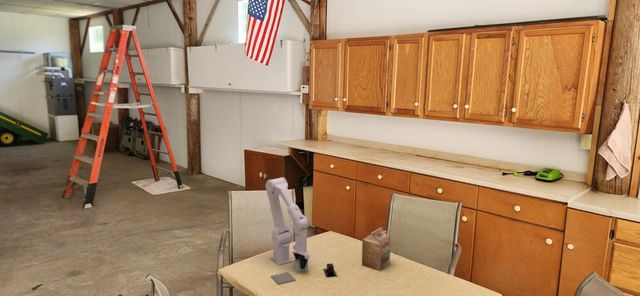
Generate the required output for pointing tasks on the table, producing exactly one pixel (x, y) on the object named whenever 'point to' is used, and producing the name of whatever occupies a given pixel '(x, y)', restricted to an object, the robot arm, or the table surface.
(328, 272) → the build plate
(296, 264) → the brick
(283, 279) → the mat
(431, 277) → the table surface
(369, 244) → the milk carton
